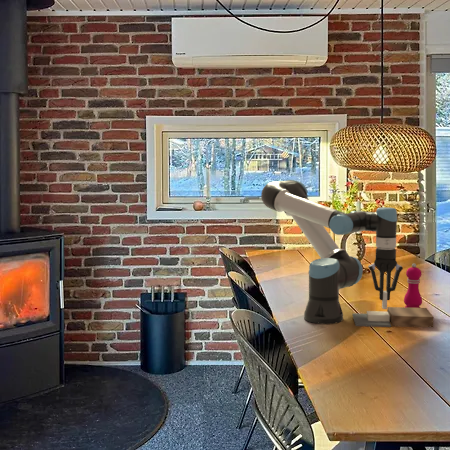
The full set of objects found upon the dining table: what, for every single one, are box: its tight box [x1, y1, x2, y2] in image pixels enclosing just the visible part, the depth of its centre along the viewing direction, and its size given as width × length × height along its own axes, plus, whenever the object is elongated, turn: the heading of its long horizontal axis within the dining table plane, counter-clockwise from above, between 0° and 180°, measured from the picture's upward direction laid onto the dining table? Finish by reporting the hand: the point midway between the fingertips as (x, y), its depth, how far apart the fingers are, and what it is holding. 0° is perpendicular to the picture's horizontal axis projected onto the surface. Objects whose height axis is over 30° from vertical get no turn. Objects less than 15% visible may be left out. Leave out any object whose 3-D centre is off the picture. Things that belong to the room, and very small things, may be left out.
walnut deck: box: [386, 306, 434, 328], centre depth 231 cm, size 15×13×4 cm
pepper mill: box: [403, 263, 423, 308], centre depth 245 cm, size 7×7×20 cm
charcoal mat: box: [352, 312, 392, 328], centre depth 233 cm, size 13×15×1 cm
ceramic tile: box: [366, 310, 390, 322], centre depth 232 cm, size 8×6×2 cm
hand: (384, 308), depth 231 cm, fingers closed
